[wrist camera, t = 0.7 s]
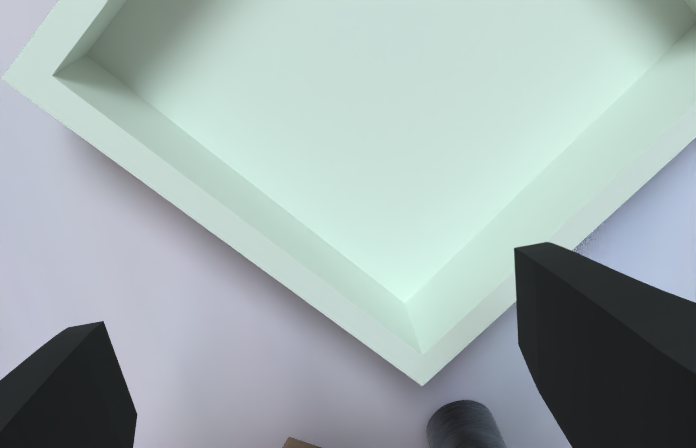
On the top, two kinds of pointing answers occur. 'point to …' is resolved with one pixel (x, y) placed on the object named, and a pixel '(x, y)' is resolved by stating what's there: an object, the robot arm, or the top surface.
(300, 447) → the brown wooden block
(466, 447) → the crank
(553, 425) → the top surface
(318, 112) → the tray
